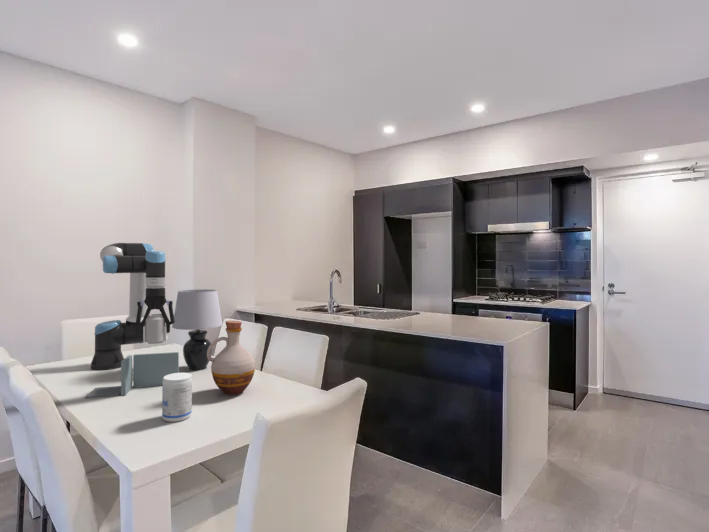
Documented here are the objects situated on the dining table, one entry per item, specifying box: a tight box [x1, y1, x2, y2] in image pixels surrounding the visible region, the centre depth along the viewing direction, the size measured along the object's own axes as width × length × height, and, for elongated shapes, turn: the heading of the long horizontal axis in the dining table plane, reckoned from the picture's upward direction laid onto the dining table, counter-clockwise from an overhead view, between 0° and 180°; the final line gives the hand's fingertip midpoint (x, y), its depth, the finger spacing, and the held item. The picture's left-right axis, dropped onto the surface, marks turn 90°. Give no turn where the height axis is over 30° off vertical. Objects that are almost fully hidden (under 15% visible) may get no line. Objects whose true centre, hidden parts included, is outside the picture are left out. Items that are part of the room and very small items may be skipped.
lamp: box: [171, 288, 223, 372], centre depth 206 cm, size 24×24×40 cm
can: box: [145, 313, 166, 345], centre depth 171 cm, size 8×8×12 cm
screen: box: [120, 351, 180, 397], centre depth 172 cm, size 13×20×14 cm, turn 106°
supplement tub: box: [161, 372, 193, 423], centre depth 141 cm, size 10×10×15 cm
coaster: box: [84, 385, 121, 399], centre depth 168 cm, size 12×12×1 cm
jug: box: [207, 320, 256, 396], centre depth 169 cm, size 20×18×30 cm
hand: (155, 340), depth 171 cm, fingers closed on can, 7 cm apart
